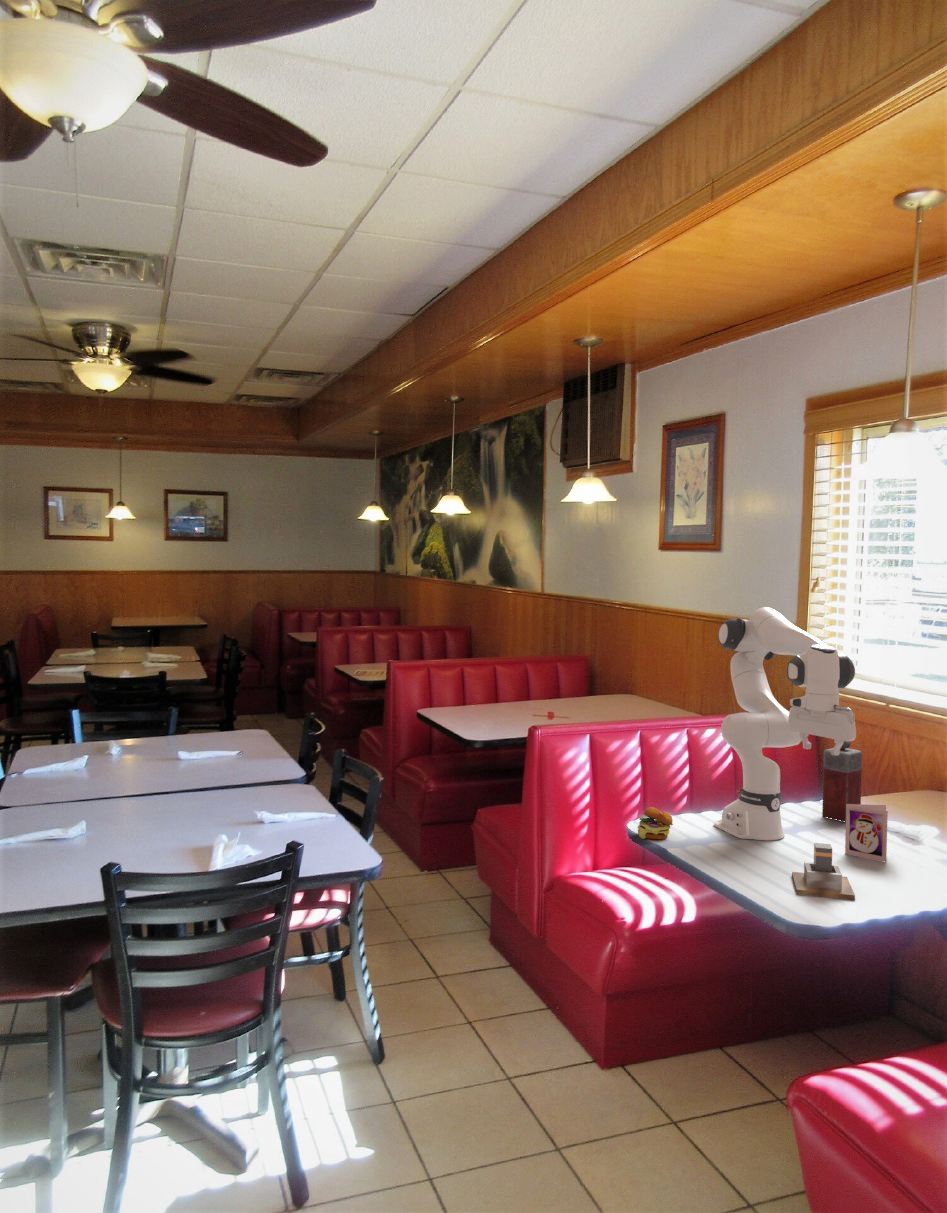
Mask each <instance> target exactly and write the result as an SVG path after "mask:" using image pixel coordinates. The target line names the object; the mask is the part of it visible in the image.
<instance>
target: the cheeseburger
mask: <svg viewBox="0 0 947 1213" xmlns="http://www.w3.org/2000/svg"><path fill="white" fill-rule="evenodd" d="M643 815H644V816H645V817H644V816H643V817H640V818H639V820H640V821H639V822H638V823H639V825H638V826H637V833H638V835H639V837H640V838H641V839H642V840H645V839H651V840H652V839H653V840H654V839H655V840H665V839H667V838H668V836H669V834H670V829H671V826H673V825H674V824H673V816H672V815H671V813H669V812H667V811H660V810H659V809H658V808H656V807H653V806H650V807H647V808H646V809H645V810H644V812H643Z"/></svg>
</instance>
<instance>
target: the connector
mask: <svg viewBox="0 0 947 1213" xmlns="http://www.w3.org/2000/svg"><path fill="white" fill-rule="evenodd" d="M813 844H814V846H813V862H814V871H818V872H829V873H832V864H833V848H832V845H831V844H830V843H820V842H819V843H818V842H814V843H813Z"/></svg>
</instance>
